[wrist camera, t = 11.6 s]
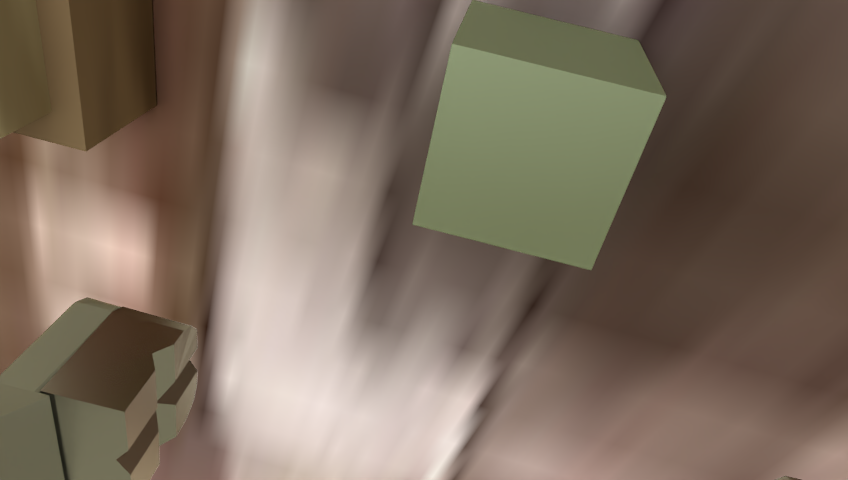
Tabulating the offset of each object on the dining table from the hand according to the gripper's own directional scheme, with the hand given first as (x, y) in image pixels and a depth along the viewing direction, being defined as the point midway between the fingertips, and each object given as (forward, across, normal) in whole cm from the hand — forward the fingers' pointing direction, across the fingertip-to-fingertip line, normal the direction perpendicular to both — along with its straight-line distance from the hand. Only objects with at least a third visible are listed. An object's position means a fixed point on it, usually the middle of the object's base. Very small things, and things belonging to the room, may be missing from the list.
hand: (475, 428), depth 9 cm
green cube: (+13, -1, 0) cm, 13 cm away
